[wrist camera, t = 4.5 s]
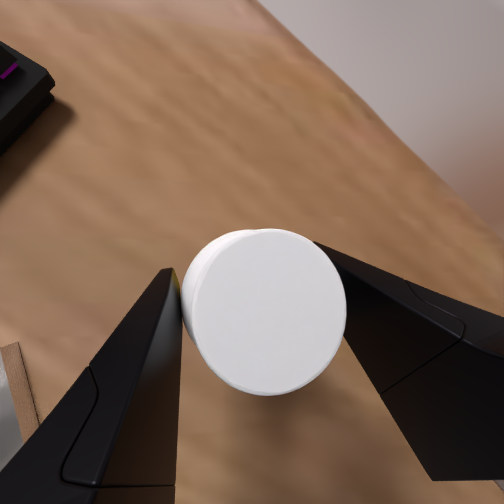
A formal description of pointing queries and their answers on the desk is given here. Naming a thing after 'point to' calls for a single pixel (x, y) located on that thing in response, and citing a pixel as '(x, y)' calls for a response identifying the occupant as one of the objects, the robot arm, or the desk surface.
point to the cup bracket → (14, 404)
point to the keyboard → (20, 94)
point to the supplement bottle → (264, 310)
